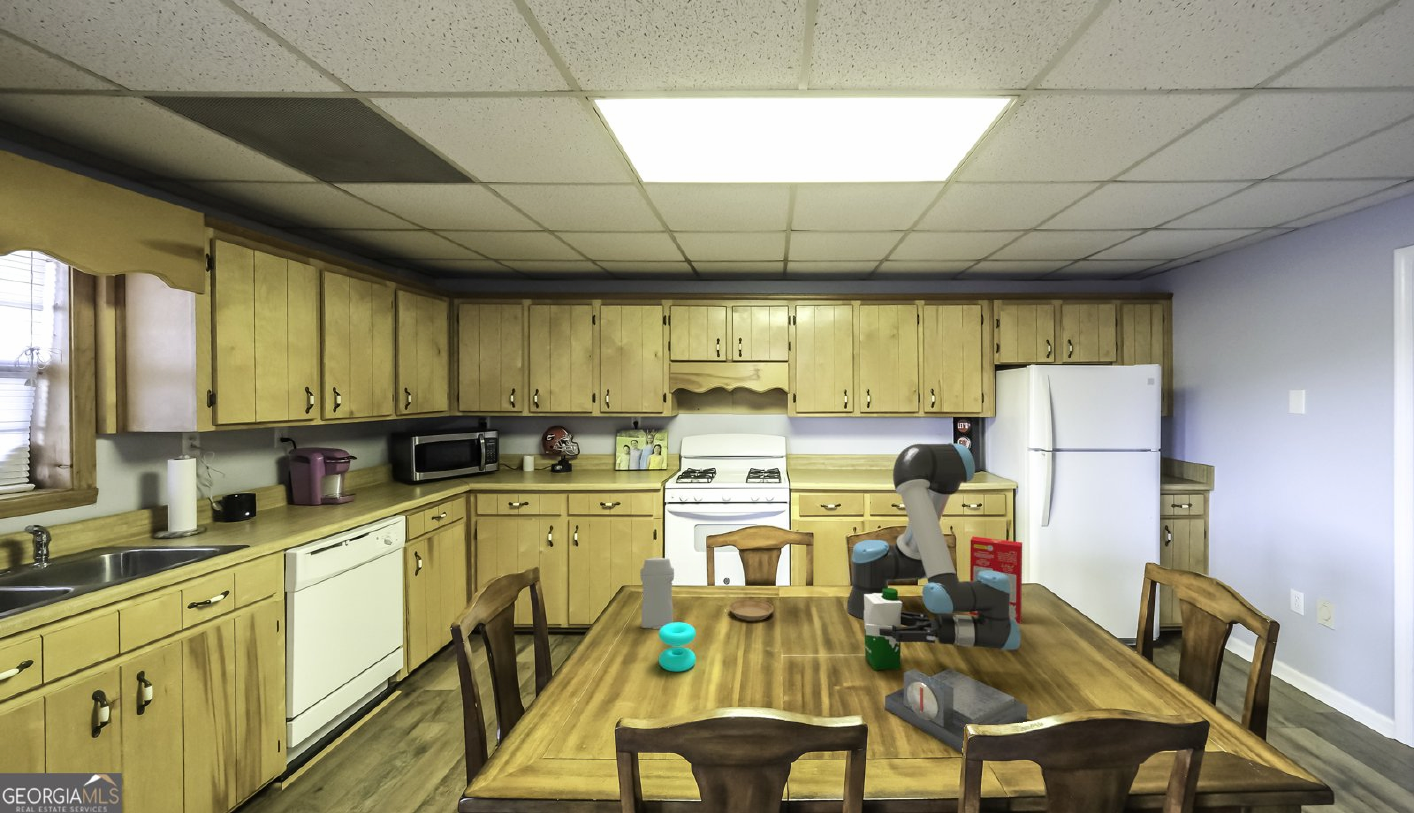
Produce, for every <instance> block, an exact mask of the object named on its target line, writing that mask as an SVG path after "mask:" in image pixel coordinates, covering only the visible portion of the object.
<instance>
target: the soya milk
mask: <svg viewBox="0 0 1414 813" xmlns="http://www.w3.org/2000/svg"><path fill="white" fill-rule="evenodd" d="M902 606H903V602H902V600H900V598H899V594H898V590H897V589H896V588H893V587H888V588H883V589H882V593H873V594H864V607H865V621H864V654H865V655H864V656H865V661H867V662H868V663H869V665H870V666H871V667H872V668H873V670H874V671H886V670H888V671H889V670H901V669H902V668H901V665H902V664H901V663H902V661H901V655H902V654H901V652H902V651H901V649H902V648H901V643H902V642H897V641H896V639H894V638H892V637H883V636H872V635H866V624H875V625H887V626H893V625H894V626H896V627H902V625H901V611H902V609H903V608H902Z"/></svg>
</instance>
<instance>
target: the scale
mask: <svg viewBox="0 0 1414 813" xmlns="http://www.w3.org/2000/svg"><path fill="white" fill-rule="evenodd" d="M884 709H885V710H887V711H888V712H890V713H891V714H893V715H895V716H896V717H898V718H900V719H902V720H903V721H905V722H907V723H908V724H910V725H912V726H914V727H915V728H917V729H919V730H921V731H922V732H924V733H926V734H927V735H929V736H931V737H932V738H935V739H936V740H938V741H939V742H941V743H942V744H945V745H947V746H948V747H950V748H952V749H953V750H955V751H956V752H959V754H962V748H963V741H964V727H965V725H966V724H978V725H998V724H1010V723H1019V722H1020V723H1023V721H1025V720H1027V719H1028V704H1026V703H1024V702H1021V701H1020V700H1017V699H1015V697H1014V696H1012V695H1010V694H1007V693H1005V692H1003V691H1001V690H999V689H997V688H995V687H992V686H990V685H987V684H986V683H984V682H981V681H979V680H977V679H975V678H972V677H971V676H968V675H966V674H963V673H961V672H960V671H957V670H954V669H952V668H946V669H944V670H942V671H940V672H937V673H935V674H933V675H931V676H930V675H927V674H925V673H923V672H921V671H919V670H917V669H915V668H912V669H910V670H907V671H906V672H903V688H900V689H899V690H898V689H897V690H896V691H894V692H892V693H889V694H886V695H884ZM1020 723H1019V724H1020Z"/></svg>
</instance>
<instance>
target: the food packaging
mask: <svg viewBox="0 0 1414 813" xmlns="http://www.w3.org/2000/svg"><path fill="white" fill-rule="evenodd" d="M969 547H970V552H969V553H970V555H969V557H970V561H969V562H970V564H969V565H970V566H969V570H970V572H969V573H970V574H969V578H970V579H969V581H977V577H978V573H979V572H981V571H985V570H989V571H997V572H1000V573H1003V574H1005V575H1006V576H1007V577H1008V578H1009V583H1010V605H1009V617H1010V619H1013V620H1015V621H1016V622H1017V623H1018V625H1019V624H1021V623H1022V608H1023V606H1022V598H1023V597H1022V596H1023V594H1022V592H1023V588H1022V587H1023V585H1022V584H1023V542H1020V541H1014V540H1007V539H1006V540H1004V539H996V538H987V537H983V536H982V537H979V536H975V535H974V536H972V537H971V538H970V546H969ZM969 615H970V616H978V614H977V611H975V612H969Z"/></svg>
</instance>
